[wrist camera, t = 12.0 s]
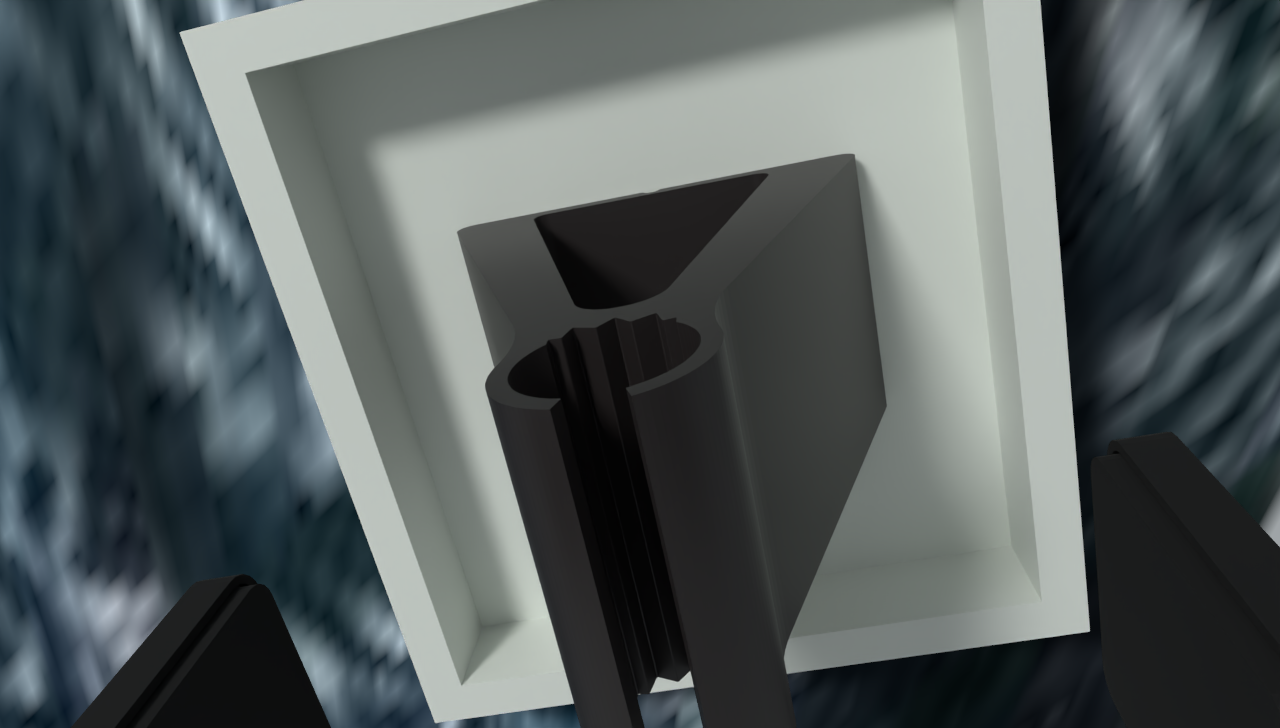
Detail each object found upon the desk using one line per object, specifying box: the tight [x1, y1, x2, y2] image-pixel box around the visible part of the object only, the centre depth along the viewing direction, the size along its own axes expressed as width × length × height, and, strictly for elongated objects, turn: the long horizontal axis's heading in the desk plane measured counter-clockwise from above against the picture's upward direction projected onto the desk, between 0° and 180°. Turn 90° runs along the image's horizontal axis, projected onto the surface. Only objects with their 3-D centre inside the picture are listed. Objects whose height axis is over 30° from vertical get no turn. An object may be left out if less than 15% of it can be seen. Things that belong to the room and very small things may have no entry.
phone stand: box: [457, 154, 887, 728], centre depth 17 cm, size 9×6×12 cm, turn 101°
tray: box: [179, 0, 1090, 723], centre depth 22 cm, size 16×17×3 cm
